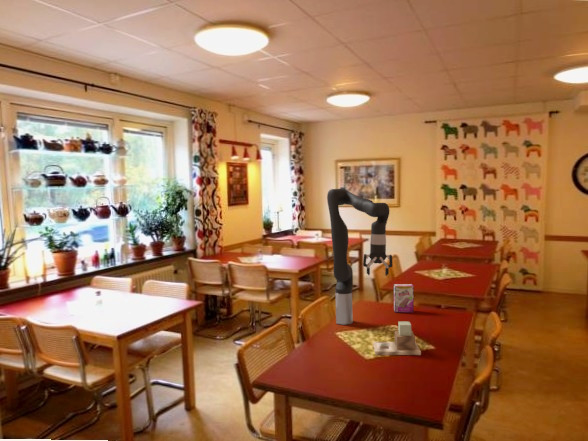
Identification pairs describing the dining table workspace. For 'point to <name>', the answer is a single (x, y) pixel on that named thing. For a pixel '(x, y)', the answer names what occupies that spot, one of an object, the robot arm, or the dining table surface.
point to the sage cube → (404, 328)
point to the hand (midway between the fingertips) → (377, 275)
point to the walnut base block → (404, 341)
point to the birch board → (393, 349)
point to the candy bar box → (403, 298)
